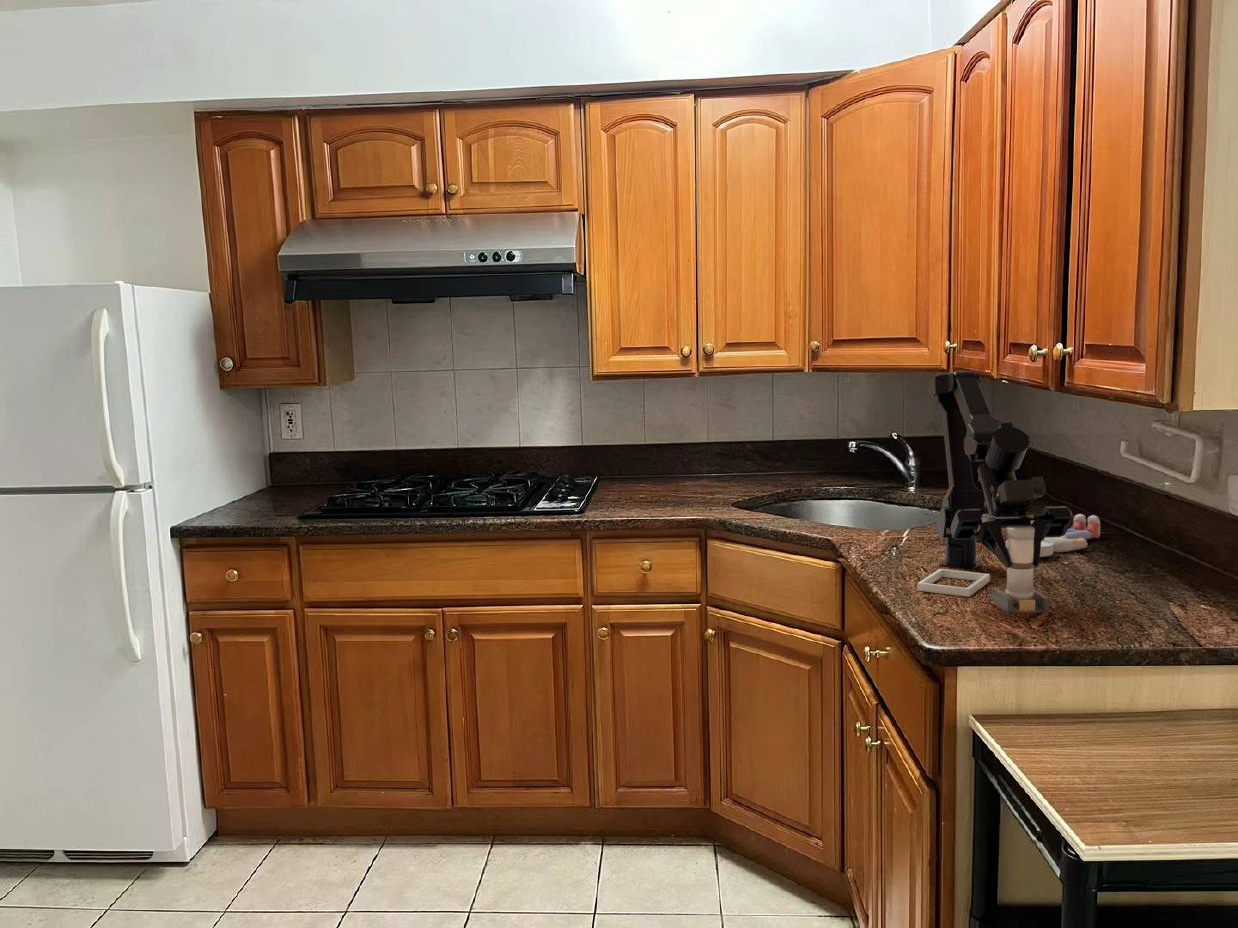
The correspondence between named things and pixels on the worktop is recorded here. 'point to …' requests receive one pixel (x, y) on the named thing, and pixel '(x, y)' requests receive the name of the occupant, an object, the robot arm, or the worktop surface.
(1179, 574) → the worktop surface
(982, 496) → the robot arm
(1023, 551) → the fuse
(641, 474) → the worktop surface
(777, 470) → the worktop surface
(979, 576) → the parts tray
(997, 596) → the fuse holder
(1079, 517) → the toy
